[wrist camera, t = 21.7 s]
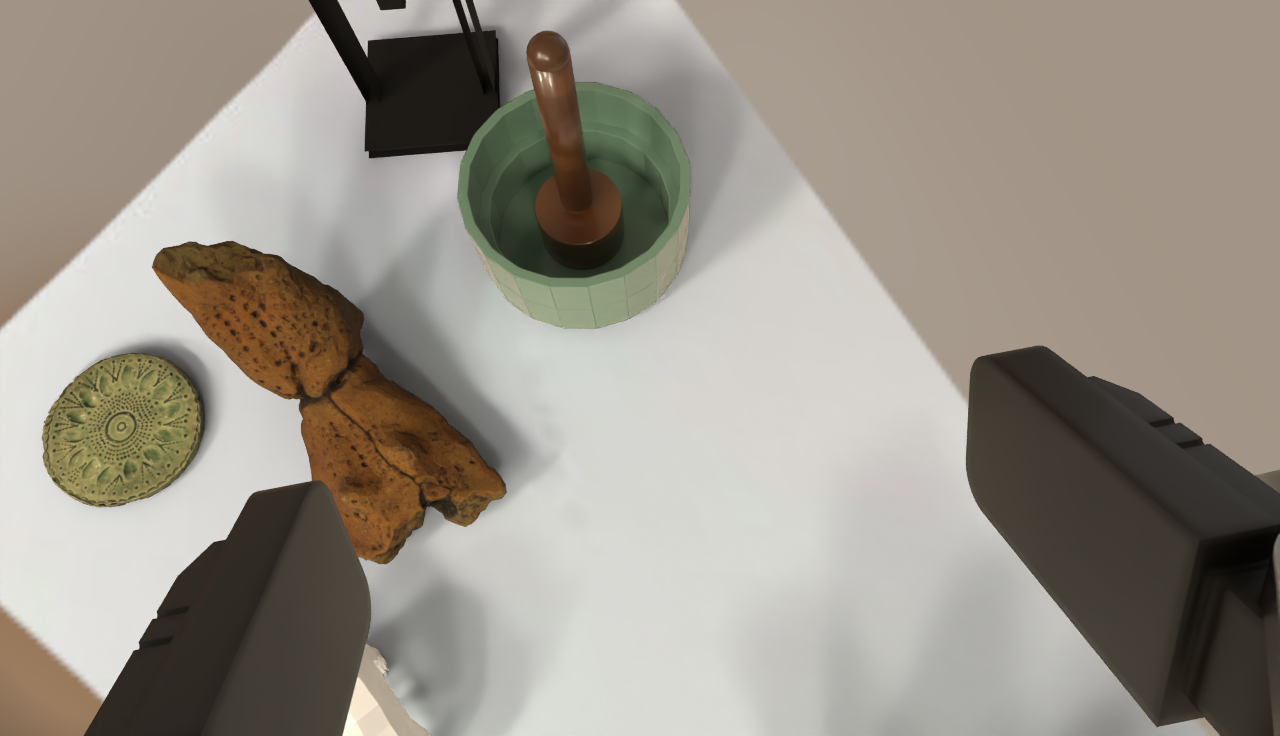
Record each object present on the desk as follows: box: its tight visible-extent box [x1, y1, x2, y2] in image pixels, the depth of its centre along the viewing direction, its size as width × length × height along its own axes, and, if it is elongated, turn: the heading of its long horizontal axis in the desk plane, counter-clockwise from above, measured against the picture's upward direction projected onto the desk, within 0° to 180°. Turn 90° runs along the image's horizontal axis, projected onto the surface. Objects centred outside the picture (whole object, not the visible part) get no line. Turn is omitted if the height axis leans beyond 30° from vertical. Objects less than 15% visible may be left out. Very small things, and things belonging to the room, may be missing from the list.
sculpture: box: [152, 241, 506, 564], centre depth 36 cm, size 8×10×15 cm
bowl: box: [457, 82, 690, 329], centre depth 40 cm, size 11×11×6 cm
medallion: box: [42, 353, 204, 507], centre depth 40 cm, size 8×8×1 cm
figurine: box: [343, 644, 431, 736], centre depth 34 cm, size 2×8×5 cm, turn 40°
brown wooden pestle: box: [526, 31, 625, 270], centre depth 36 cm, size 4×4×15 cm
